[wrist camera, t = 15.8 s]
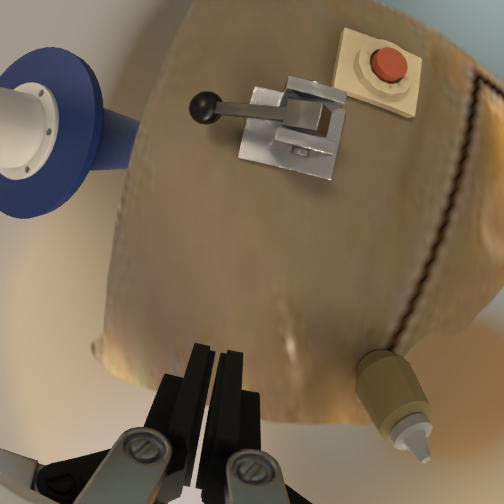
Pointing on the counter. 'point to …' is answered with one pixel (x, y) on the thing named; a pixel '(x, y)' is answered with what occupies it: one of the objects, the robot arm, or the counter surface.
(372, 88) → the control block
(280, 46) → the counter surface
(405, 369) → the squeeze bottle
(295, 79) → the bracket
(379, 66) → the button
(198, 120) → the lever
